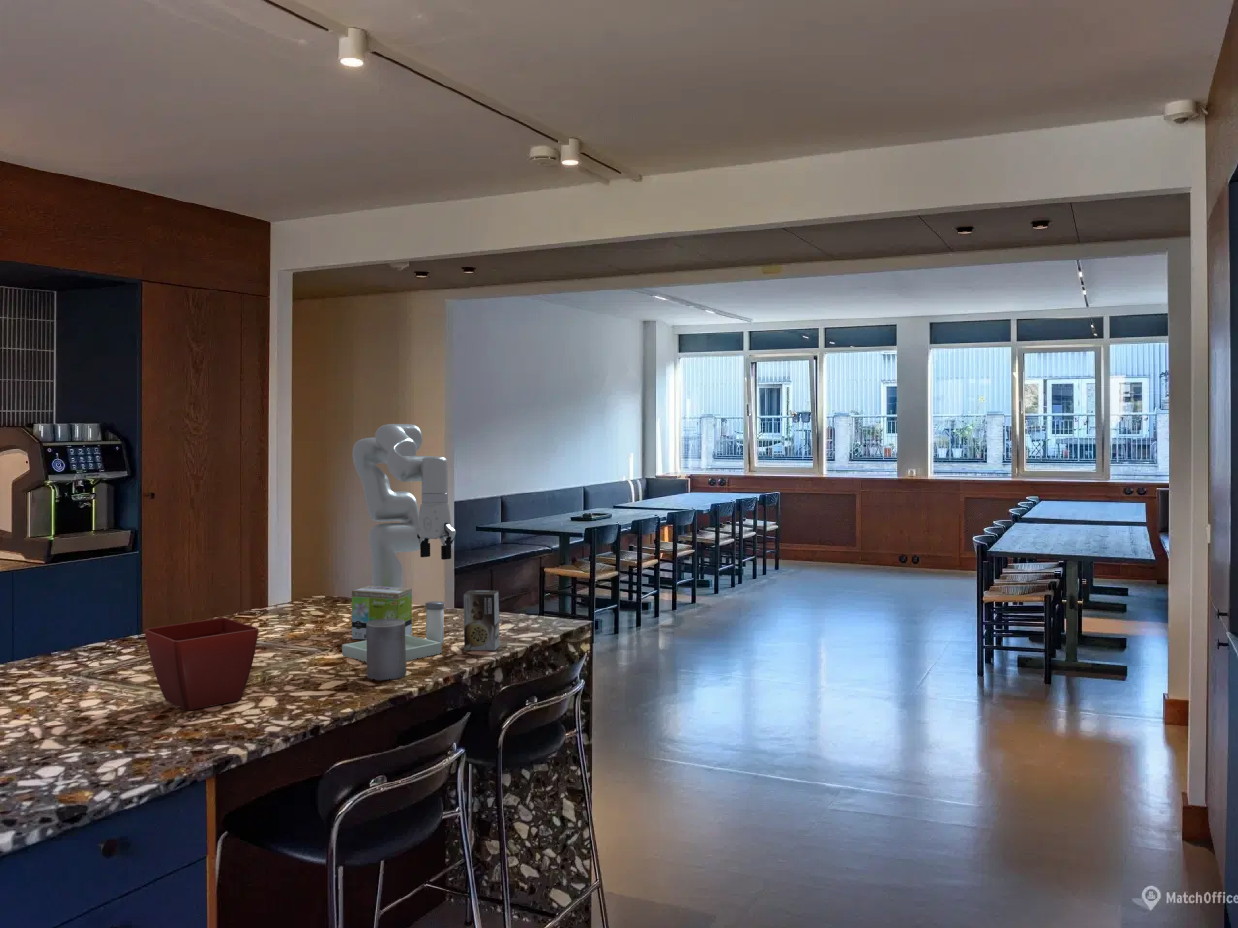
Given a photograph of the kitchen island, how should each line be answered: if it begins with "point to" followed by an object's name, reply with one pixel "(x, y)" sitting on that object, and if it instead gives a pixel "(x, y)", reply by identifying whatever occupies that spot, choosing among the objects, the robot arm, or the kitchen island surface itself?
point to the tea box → (380, 607)
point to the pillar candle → (386, 649)
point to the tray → (413, 648)
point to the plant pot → (202, 661)
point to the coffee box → (481, 620)
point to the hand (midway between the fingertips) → (435, 557)
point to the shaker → (435, 621)
